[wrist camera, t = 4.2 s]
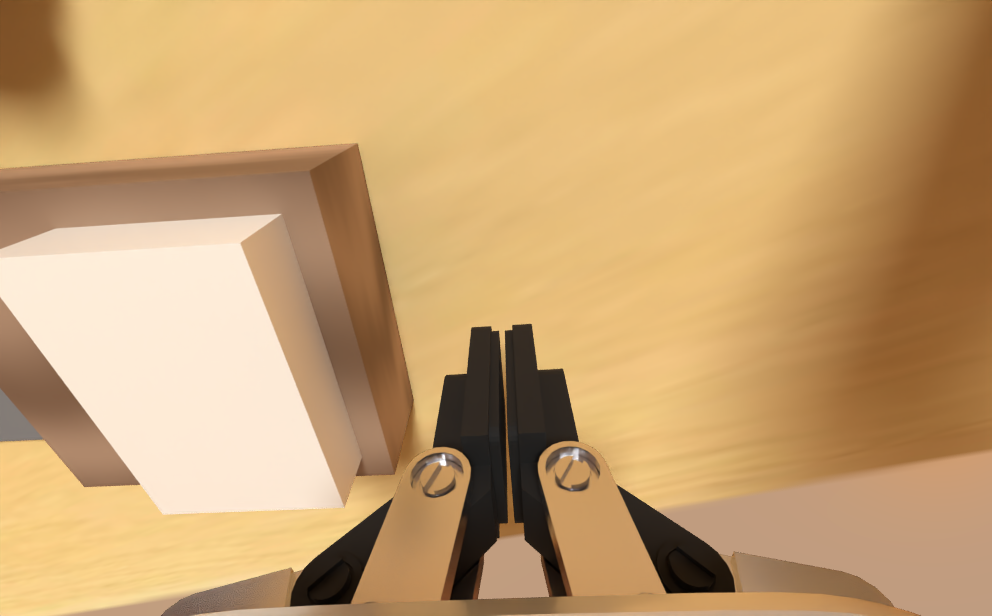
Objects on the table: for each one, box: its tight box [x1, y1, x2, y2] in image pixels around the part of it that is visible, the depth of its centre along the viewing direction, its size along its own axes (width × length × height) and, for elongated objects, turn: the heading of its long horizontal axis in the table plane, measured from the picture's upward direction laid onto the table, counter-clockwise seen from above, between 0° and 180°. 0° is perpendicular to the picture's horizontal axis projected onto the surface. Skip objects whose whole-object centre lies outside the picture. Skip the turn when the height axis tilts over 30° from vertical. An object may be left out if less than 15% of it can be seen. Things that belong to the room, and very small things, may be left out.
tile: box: [0, 214, 362, 514], centre depth 12 cm, size 9×6×2 cm, turn 4°
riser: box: [0, 144, 413, 487], centre depth 15 cm, size 11×12×4 cm
